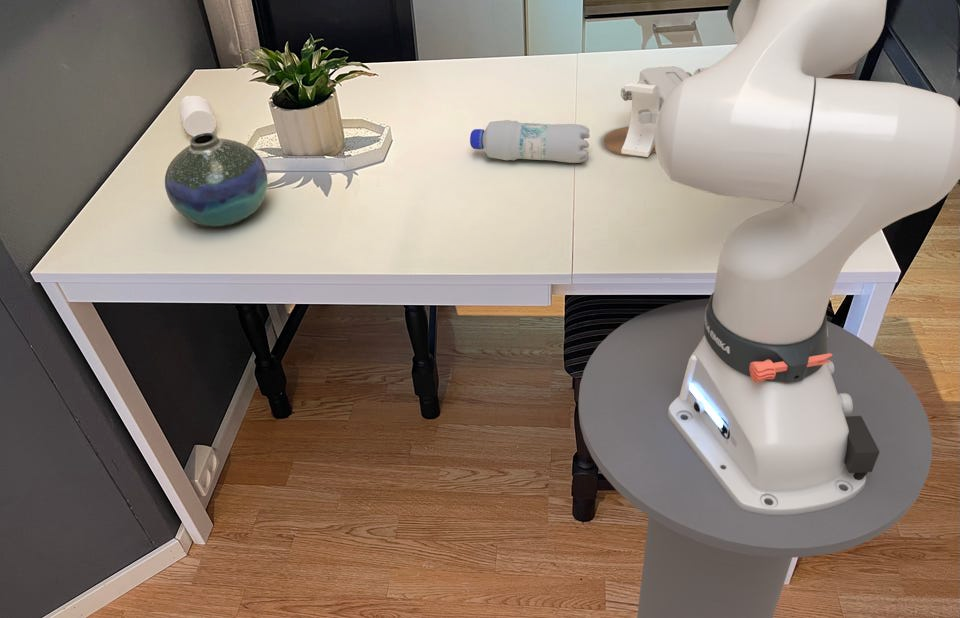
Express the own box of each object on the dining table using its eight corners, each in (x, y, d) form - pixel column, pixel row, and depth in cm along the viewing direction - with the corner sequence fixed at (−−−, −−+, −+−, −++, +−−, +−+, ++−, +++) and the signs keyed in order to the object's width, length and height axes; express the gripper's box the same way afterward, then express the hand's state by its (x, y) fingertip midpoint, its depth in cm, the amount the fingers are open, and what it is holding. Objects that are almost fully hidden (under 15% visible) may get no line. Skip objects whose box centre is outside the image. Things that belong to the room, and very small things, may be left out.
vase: (293, 196, 130) (275, 122, 121) (236, 248, 119) (211, 170, 111) (219, 182, 135) (196, 110, 127) (158, 230, 124) (128, 155, 116)
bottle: (586, 173, 131) (468, 166, 135) (589, 146, 135) (475, 141, 139) (586, 141, 126) (464, 135, 129) (590, 114, 130) (471, 109, 133)
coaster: (671, 151, 133) (671, 149, 132) (613, 160, 132) (613, 158, 132) (651, 125, 140) (651, 123, 140) (596, 133, 140) (596, 131, 139)
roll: (211, 109, 158) (202, 83, 155) (220, 133, 150) (211, 106, 146) (180, 116, 157) (171, 89, 153) (187, 141, 148) (178, 113, 144)
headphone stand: (621, 153, 133) (624, 85, 125) (631, 137, 137) (635, 70, 129) (648, 157, 131) (653, 88, 123) (657, 140, 135) (663, 73, 128)
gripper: (688, 53, 139) (612, 63, 138) (737, 101, 123) (651, 113, 122) (685, 87, 143) (611, 97, 142) (731, 138, 127) (648, 150, 126)
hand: (630, 105), depth 132 cm, fingers open, 8 cm apart
